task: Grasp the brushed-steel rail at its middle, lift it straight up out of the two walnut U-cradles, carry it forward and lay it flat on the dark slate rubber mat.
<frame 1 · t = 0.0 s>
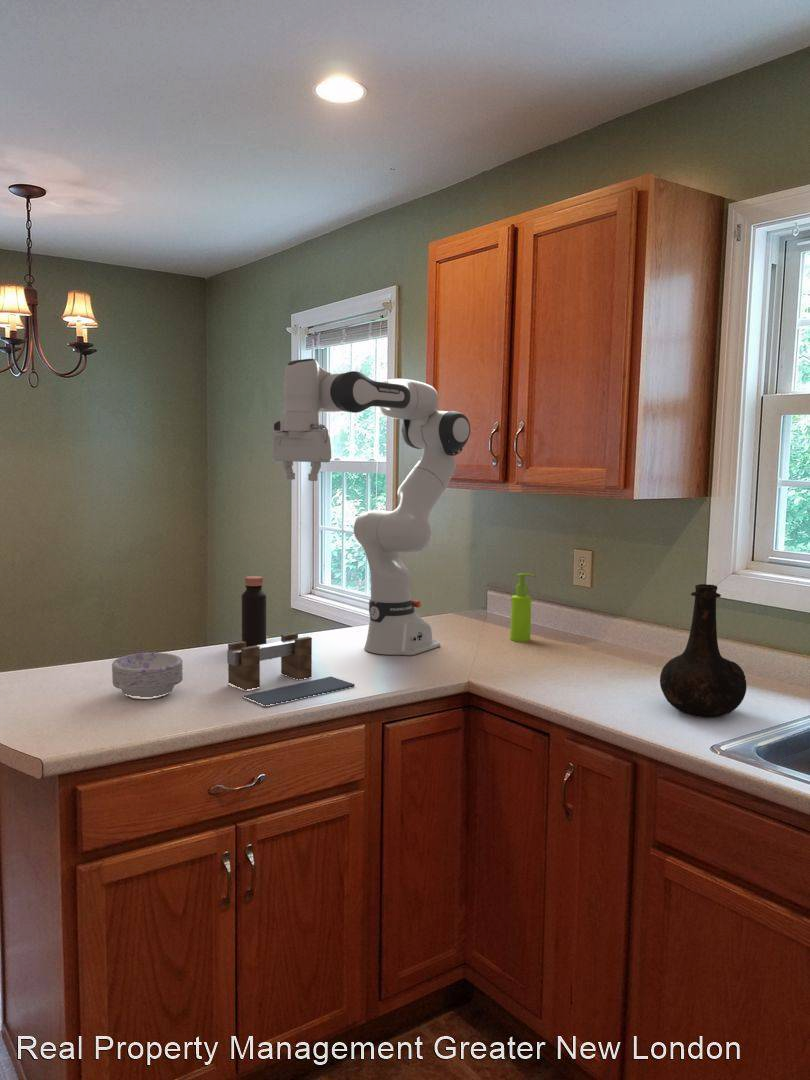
hand: (301, 480, 209), 48 cm above the counter, fingers open, 8 cm apart
soap dispenser: (521, 640, 250), on the counter
rail: (270, 656, 200), point 6 cm above the counter, touching cradles
cradles: (270, 681, 200), on the counter
mat: (300, 692, 192), on the counter
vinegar: (254, 648, 234), on the counter
paper bowls: (148, 695, 189), on the counter
glass bottle: (700, 712, 182), on the counter
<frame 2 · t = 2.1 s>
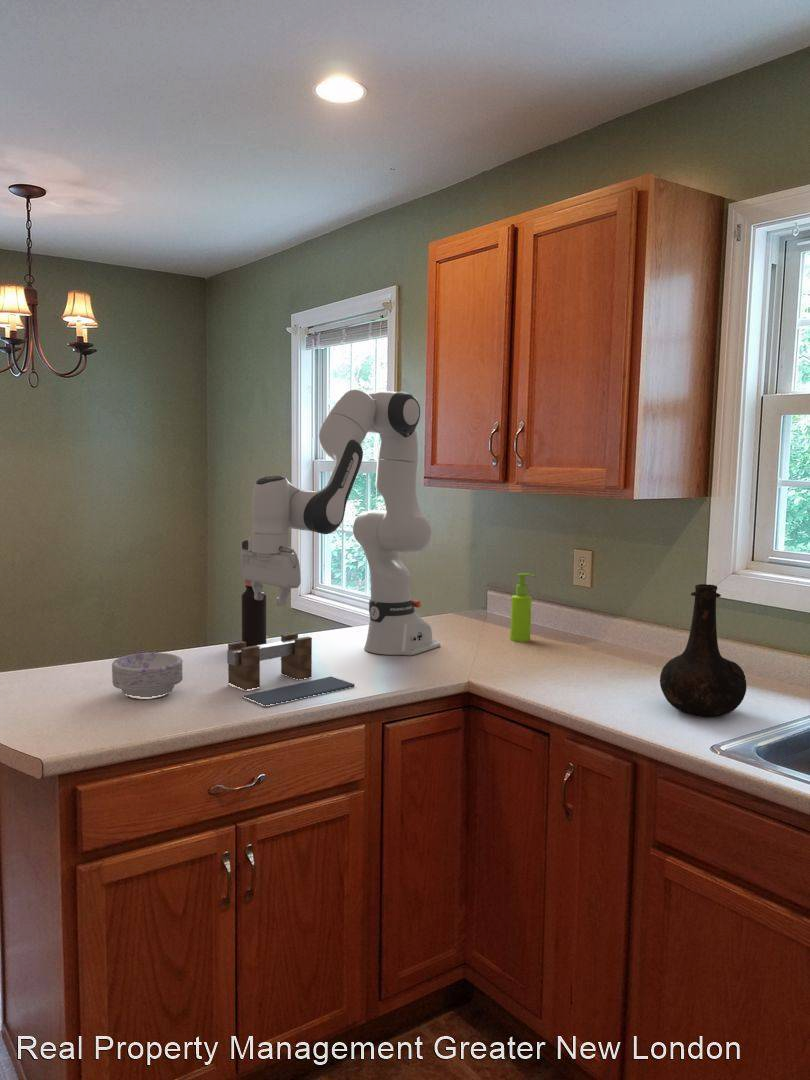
hand: (270, 602, 198), 19 cm above the counter, fingers open, 8 cm apart
nothing on the counter moved.
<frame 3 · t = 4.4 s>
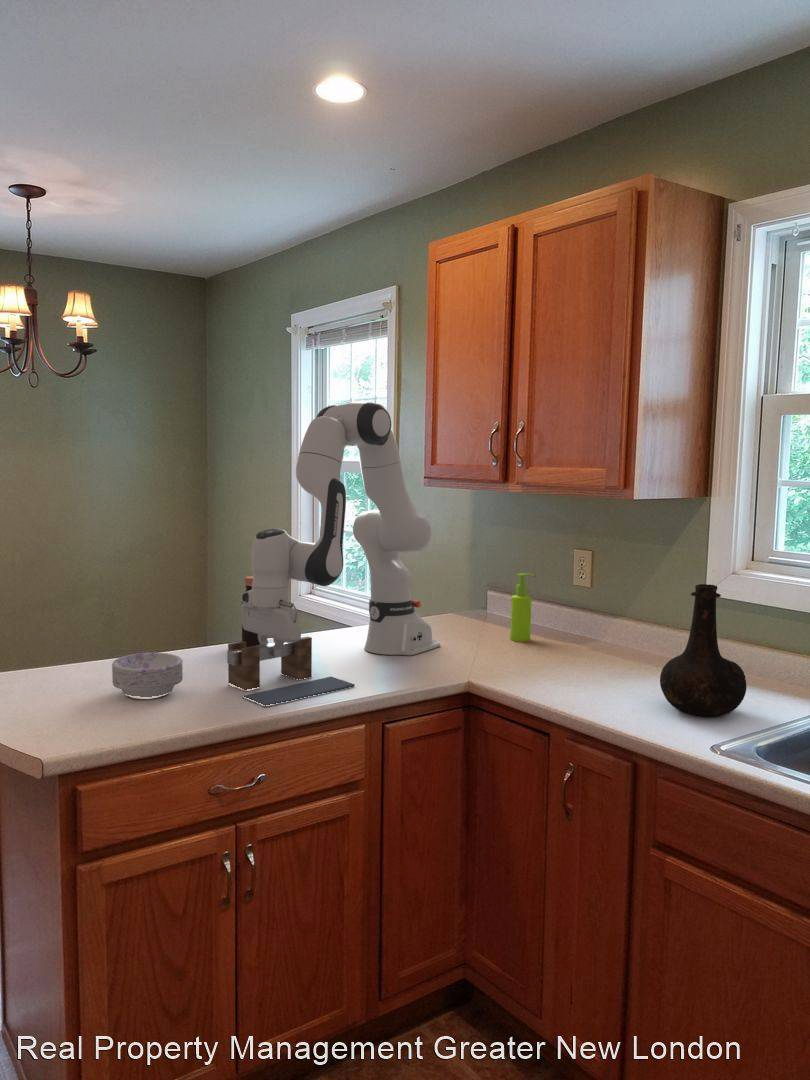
hand: (270, 654, 200), 7 cm above the counter, fingers closed on rail, 3 cm apart
rail: (270, 656, 200), point 6 cm above the counter, touching cradles, gripper
everything else where it was.
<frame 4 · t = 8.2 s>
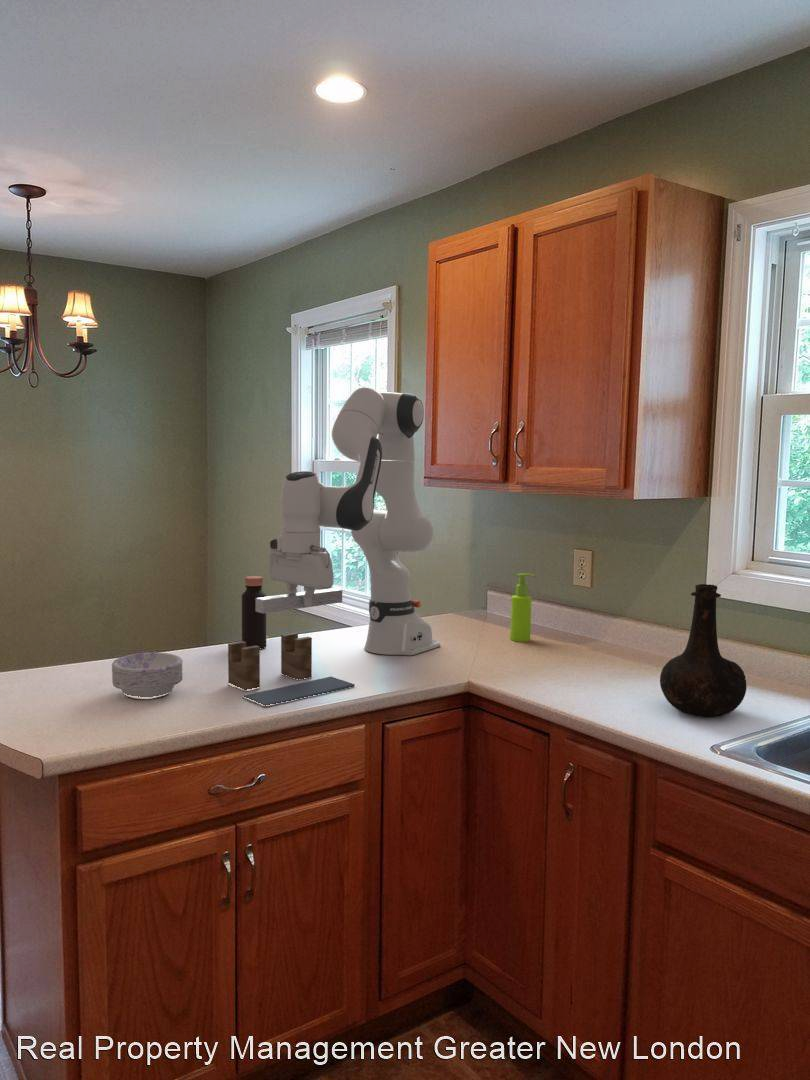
hand: (300, 604, 190), 21 cm above the counter, fingers closed on rail, 3 cm apart
rail: (300, 606, 190), point 20 cm above the counter, touching gripper
everything else where it was.
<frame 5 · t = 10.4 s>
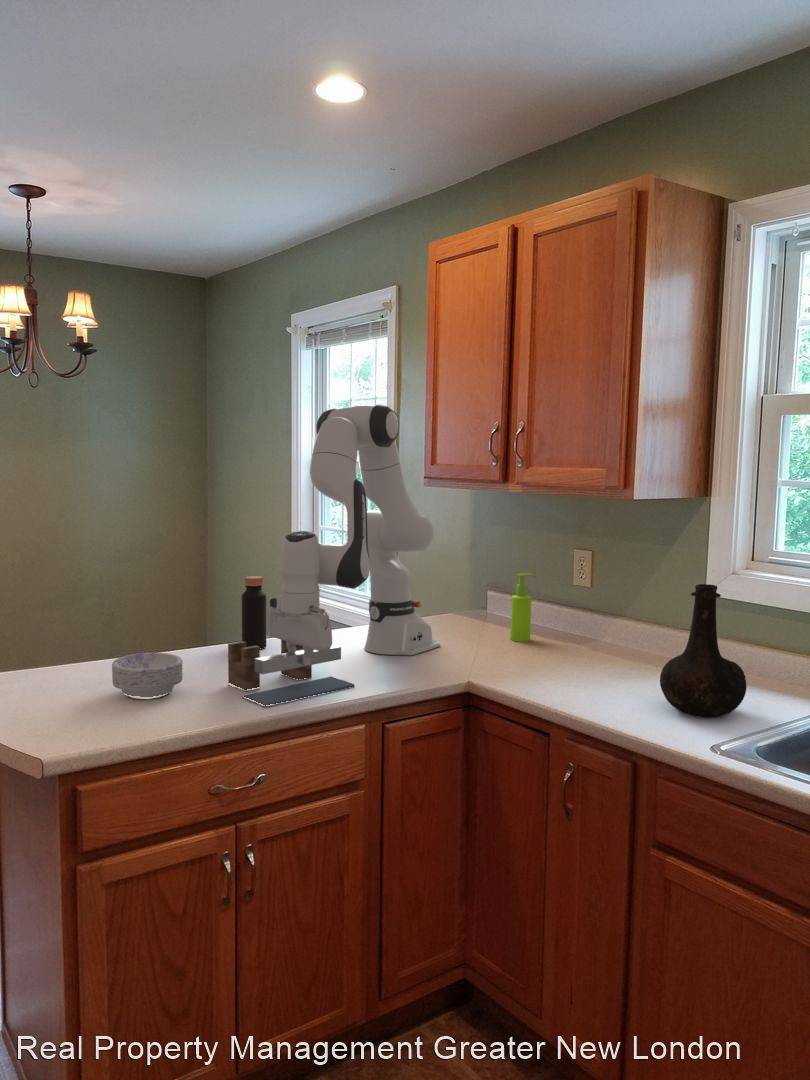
hand: (299, 662, 191), 7 cm above the counter, fingers closed on rail, 3 cm apart
rail: (299, 665, 191), point 6 cm above the counter, touching gripper
everything else where it was.
when the fingers open (3 cm above the counter, at t = 12.1 s): rail drops 1 cm, resting on mat.
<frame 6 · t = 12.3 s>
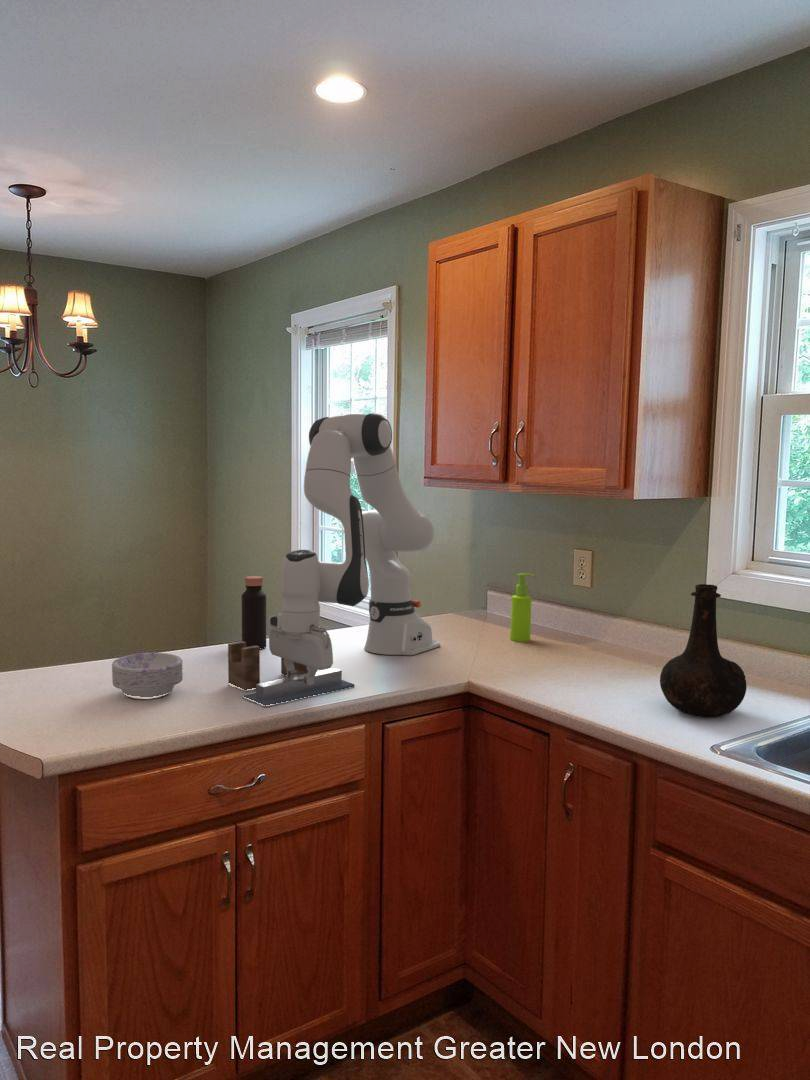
hand: (300, 680, 191), 3 cm above the counter, fingers open, 5 cm apart
rail: (300, 689, 192), point 1 cm above the counter, touching mat
everything else where it was.
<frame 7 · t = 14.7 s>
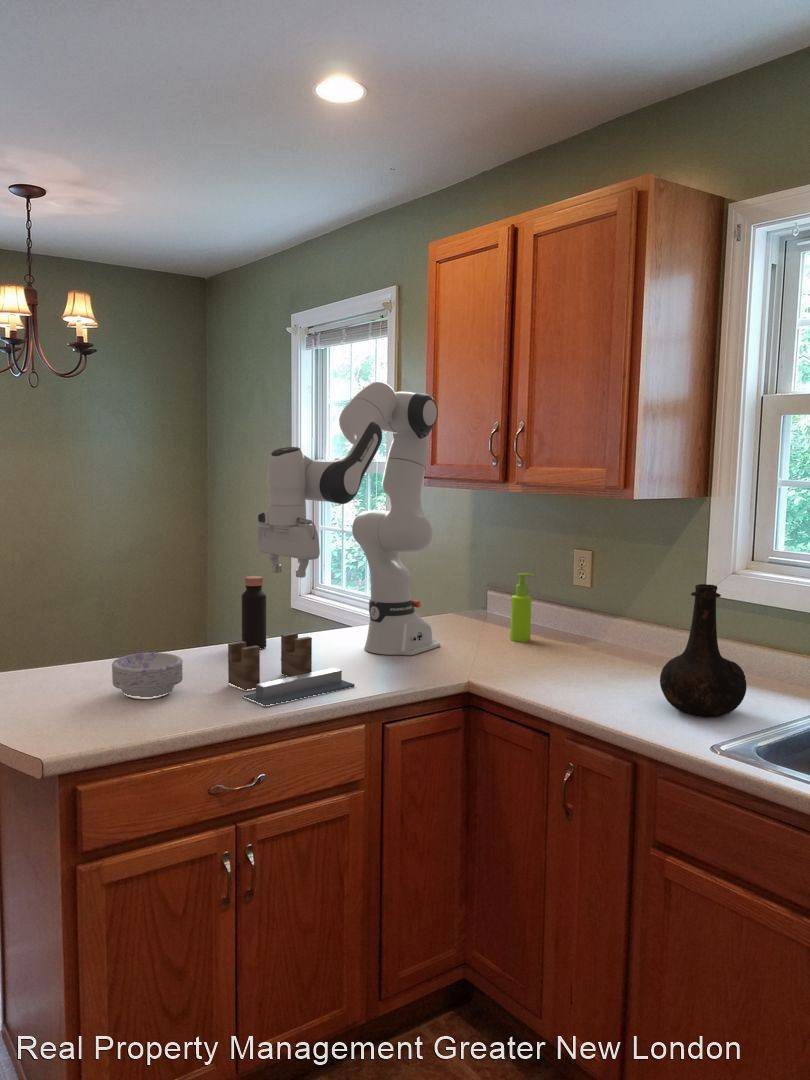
hand: (288, 574, 198), 26 cm above the counter, fingers open, 8 cm apart
nothing on the counter moved.
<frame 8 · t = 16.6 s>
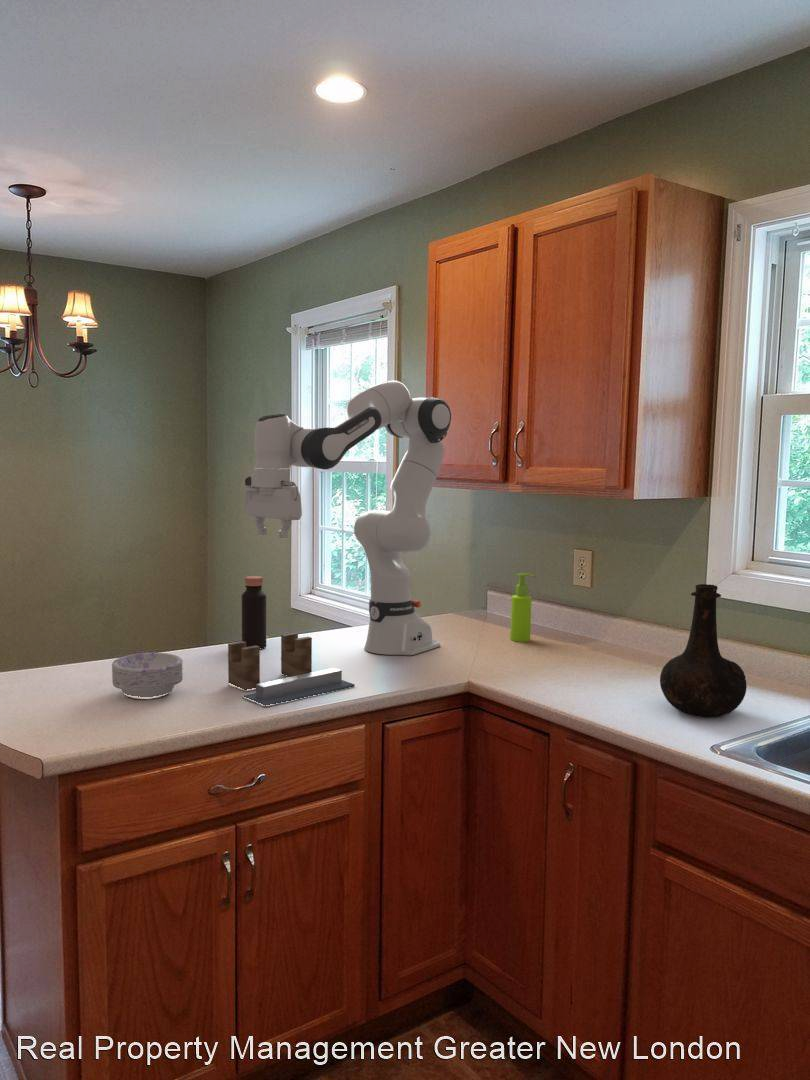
hand: (272, 536, 207), 34 cm above the counter, fingers open, 8 cm apart
nothing on the counter moved.
at the end: rail 0.0 cm off-centre on the mat, point 0.6 cm above the mat's base; rail tilted 0°; the gripper is holding nothing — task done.
